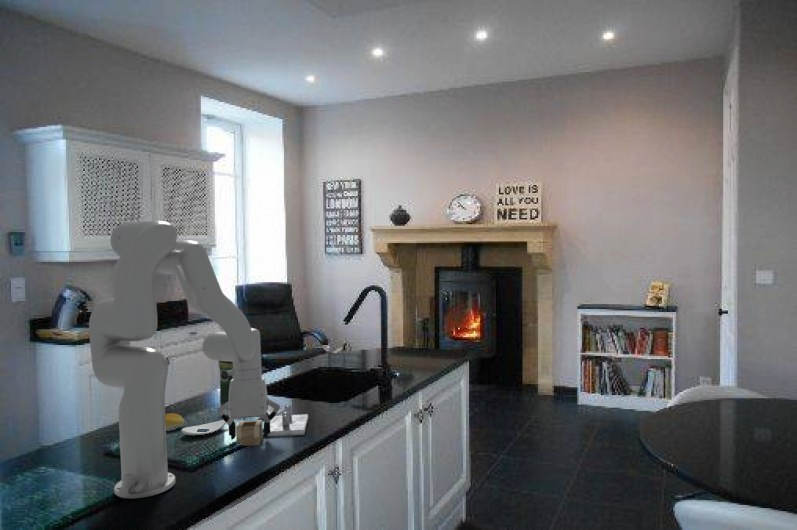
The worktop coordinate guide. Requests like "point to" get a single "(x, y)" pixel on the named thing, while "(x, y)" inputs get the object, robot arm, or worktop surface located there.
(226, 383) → the coffee jar
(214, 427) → the spoon
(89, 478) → the worktop surface
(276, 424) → the housing plate
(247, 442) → the hollow wooden block
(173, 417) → the bread roll
